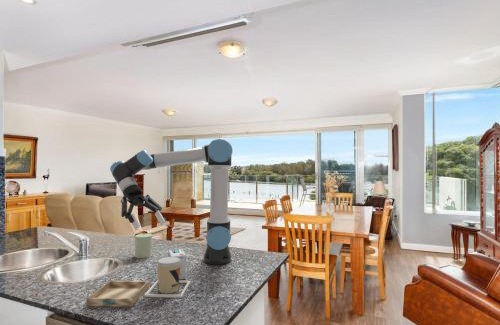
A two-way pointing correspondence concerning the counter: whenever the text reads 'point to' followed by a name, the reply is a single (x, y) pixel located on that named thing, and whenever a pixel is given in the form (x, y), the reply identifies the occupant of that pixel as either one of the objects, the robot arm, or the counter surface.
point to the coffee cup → (168, 274)
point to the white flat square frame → (167, 294)
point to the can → (143, 245)
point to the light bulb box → (182, 256)
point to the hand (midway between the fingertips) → (151, 225)
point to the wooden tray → (118, 293)
